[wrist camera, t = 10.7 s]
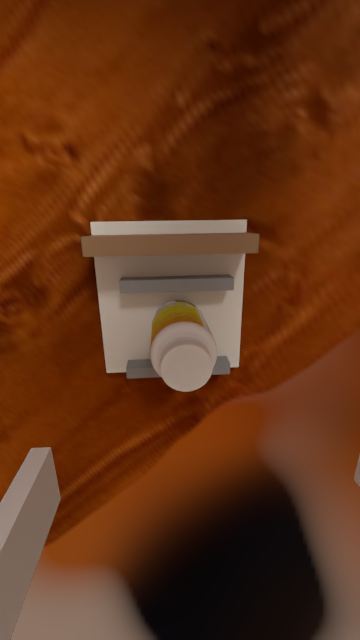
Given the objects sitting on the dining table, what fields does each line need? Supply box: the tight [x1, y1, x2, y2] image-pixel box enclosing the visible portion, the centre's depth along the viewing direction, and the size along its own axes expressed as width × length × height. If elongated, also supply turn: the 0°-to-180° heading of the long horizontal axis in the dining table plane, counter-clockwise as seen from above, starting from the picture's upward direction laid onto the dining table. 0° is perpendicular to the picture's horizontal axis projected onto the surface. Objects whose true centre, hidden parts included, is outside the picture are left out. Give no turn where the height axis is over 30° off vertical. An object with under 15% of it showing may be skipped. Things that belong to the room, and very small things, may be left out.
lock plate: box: [81, 220, 260, 379], centre depth 29 cm, size 16×15×5 cm
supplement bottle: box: [150, 300, 217, 392], centre depth 26 cm, size 6×6×10 cm
